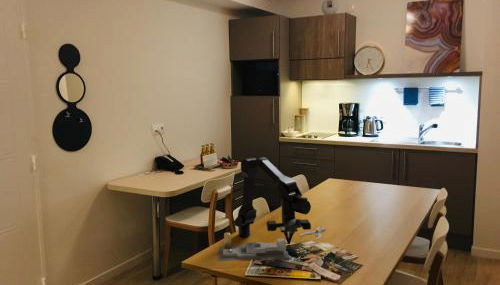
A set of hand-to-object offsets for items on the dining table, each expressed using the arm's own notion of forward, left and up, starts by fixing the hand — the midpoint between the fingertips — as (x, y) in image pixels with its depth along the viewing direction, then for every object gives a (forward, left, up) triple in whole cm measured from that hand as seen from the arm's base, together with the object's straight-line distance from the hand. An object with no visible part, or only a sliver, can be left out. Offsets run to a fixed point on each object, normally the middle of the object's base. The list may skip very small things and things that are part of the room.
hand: (288, 244), depth 178 cm
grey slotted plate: (0, -15, -4) cm, 16 cm away
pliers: (-23, +17, -5) cm, 29 cm away
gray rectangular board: (-2, -15, -4) cm, 16 cm away
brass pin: (-7, -26, -4) cm, 28 cm away
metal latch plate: (0, -10, -2) cm, 10 cm away
